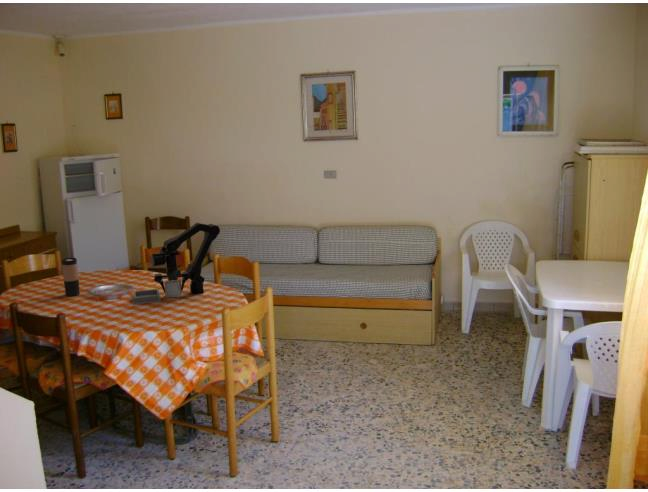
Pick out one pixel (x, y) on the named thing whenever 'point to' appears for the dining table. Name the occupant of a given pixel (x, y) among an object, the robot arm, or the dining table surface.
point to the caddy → (146, 296)
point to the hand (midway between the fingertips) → (173, 291)
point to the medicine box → (173, 288)
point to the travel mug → (70, 276)
